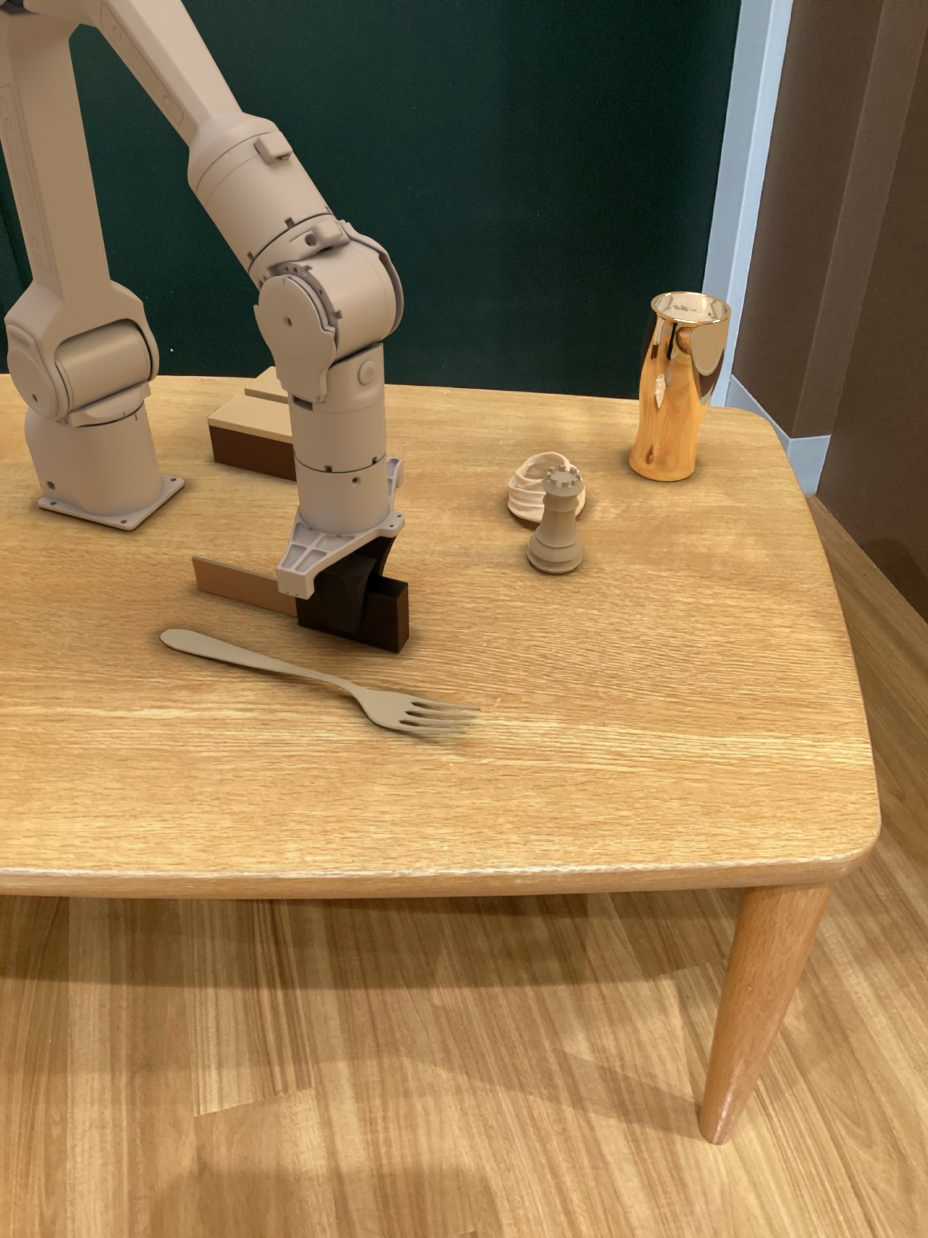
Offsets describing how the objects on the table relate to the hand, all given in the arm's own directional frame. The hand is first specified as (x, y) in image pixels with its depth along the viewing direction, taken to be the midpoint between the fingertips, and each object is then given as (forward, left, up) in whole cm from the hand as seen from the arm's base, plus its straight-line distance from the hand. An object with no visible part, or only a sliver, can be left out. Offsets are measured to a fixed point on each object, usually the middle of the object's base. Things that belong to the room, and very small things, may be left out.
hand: (352, 616), depth 66 cm
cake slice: (-17, +25, -1) cm, 30 cm away
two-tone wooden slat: (-4, 0, -1) cm, 5 cm away
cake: (-17, +19, -1) cm, 25 cm away
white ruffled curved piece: (+8, +21, -2) cm, 23 cm away
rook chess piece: (+11, +14, -2) cm, 18 cm away
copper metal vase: (+16, +32, -2) cm, 36 cm away
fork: (0, -6, -2) cm, 6 cm away
